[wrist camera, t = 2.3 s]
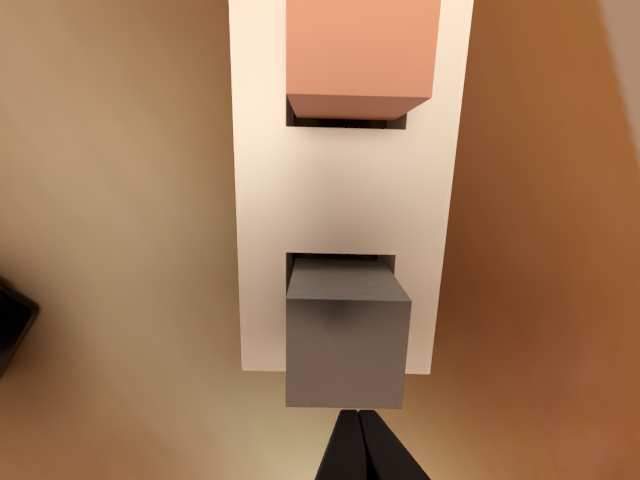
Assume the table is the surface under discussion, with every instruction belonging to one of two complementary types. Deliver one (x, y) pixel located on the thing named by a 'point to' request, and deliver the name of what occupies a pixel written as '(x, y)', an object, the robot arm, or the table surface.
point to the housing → (337, 183)
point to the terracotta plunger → (360, 57)
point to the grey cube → (345, 335)
